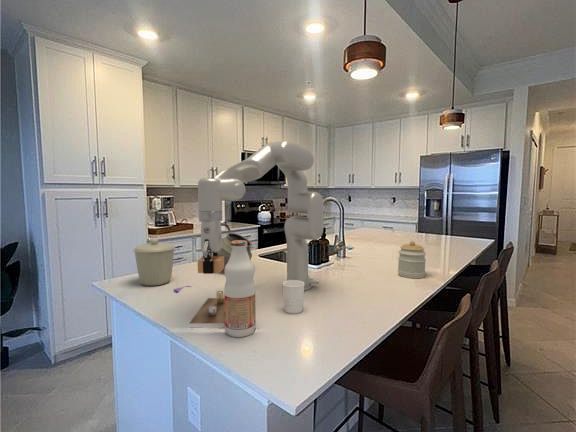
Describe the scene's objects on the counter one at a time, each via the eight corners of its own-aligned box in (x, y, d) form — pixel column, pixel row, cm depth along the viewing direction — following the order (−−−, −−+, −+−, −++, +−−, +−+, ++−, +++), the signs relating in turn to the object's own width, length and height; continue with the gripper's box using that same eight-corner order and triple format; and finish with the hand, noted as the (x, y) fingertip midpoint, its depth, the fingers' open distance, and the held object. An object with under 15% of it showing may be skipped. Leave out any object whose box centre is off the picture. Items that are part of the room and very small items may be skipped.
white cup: (291, 304, 121) (291, 278, 120) (308, 309, 116) (308, 282, 115) (278, 310, 115) (277, 283, 114) (295, 316, 110) (295, 287, 109)
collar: (224, 267, 109) (224, 256, 108) (219, 273, 102) (219, 260, 101) (203, 267, 109) (203, 256, 108) (197, 272, 102) (197, 260, 102)
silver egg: (217, 314, 108) (217, 305, 108) (215, 317, 105) (215, 308, 105) (209, 314, 108) (209, 305, 108) (208, 317, 105) (207, 308, 105)
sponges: (188, 299, 128) (188, 295, 128) (173, 292, 137) (173, 288, 136) (203, 295, 133) (203, 291, 133) (188, 289, 142) (188, 284, 141)
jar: (431, 277, 158) (432, 242, 157) (410, 280, 153) (411, 243, 152) (412, 271, 170) (413, 238, 169) (392, 273, 165) (393, 239, 164)
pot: (206, 270, 172) (205, 223, 170) (238, 263, 186) (238, 221, 184) (226, 277, 157) (225, 227, 155) (260, 270, 171) (259, 224, 169)
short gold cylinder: (224, 302, 119) (223, 290, 118) (222, 305, 116) (222, 292, 116) (217, 302, 119) (217, 290, 118) (216, 304, 116) (215, 292, 116)
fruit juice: (236, 341, 92) (234, 245, 90) (219, 330, 99) (217, 241, 97) (261, 331, 98) (261, 241, 96) (244, 321, 105) (243, 237, 103)
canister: (140, 291, 136) (138, 242, 135) (129, 282, 150) (127, 237, 148) (182, 283, 148) (180, 238, 146) (168, 275, 162) (167, 234, 160)
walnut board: (239, 302, 124) (239, 298, 124) (227, 327, 101) (227, 323, 101) (208, 301, 124) (208, 298, 124) (189, 327, 101) (189, 323, 101)
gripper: (215, 219, 95) (216, 277, 97) (227, 214, 112) (228, 264, 114) (190, 218, 95) (191, 277, 97) (206, 214, 113) (207, 264, 114)
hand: (211, 269), depth 105 cm, fingers closed on collar, 7 cm apart
